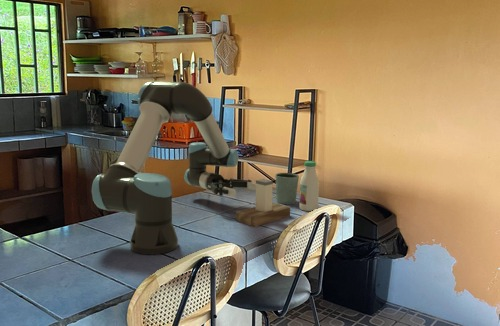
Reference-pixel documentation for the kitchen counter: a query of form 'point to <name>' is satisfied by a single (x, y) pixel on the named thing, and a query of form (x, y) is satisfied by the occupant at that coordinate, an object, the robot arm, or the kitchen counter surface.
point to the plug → (264, 195)
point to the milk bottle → (309, 188)
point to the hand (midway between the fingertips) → (247, 190)
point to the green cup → (286, 188)
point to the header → (262, 215)
